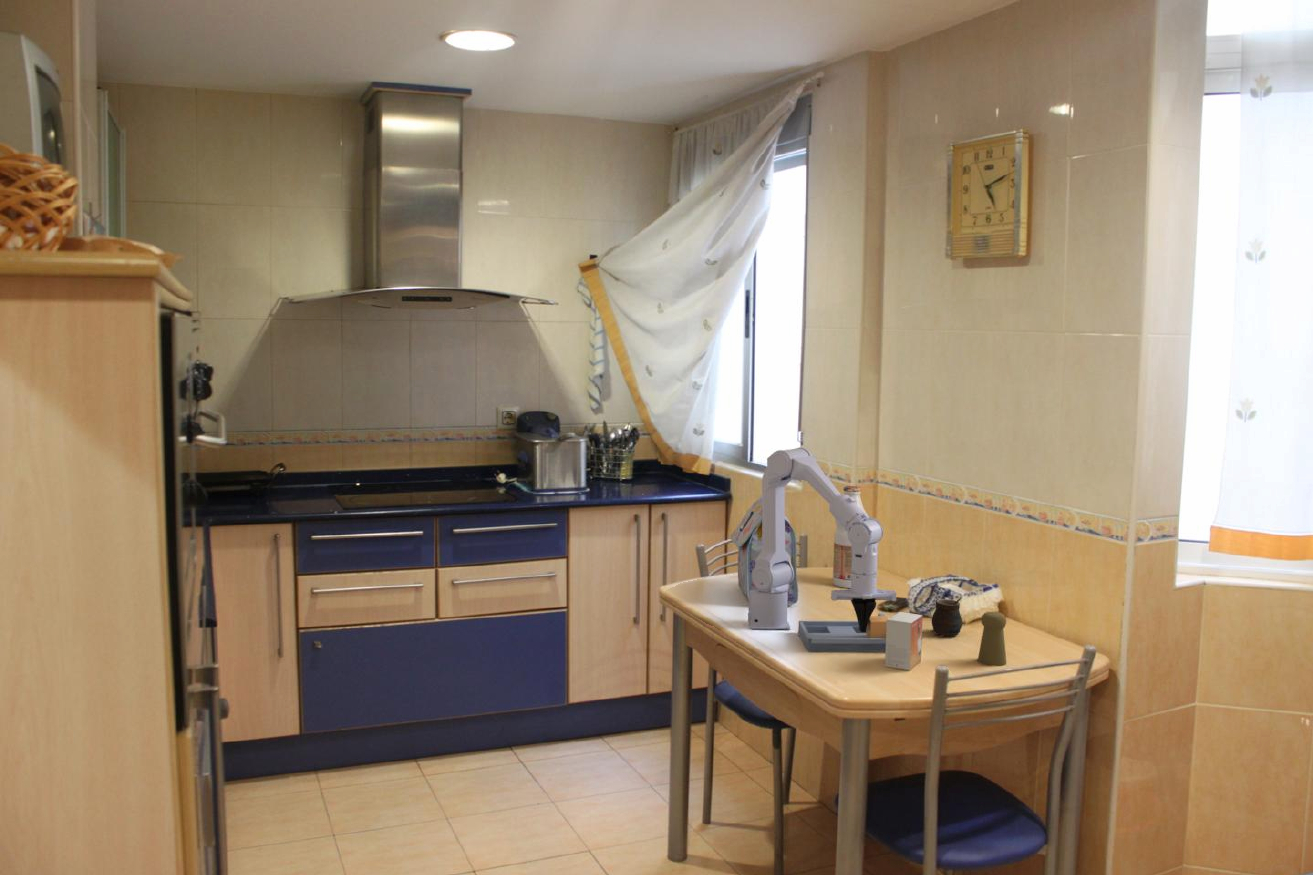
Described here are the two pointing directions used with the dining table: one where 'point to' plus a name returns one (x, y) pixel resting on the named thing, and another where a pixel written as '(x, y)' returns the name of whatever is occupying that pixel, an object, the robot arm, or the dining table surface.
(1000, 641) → the olive green pepper mill
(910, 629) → the small box
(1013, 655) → the dining table surface
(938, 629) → the mate gourd
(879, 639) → the tray
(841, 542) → the fruit juice
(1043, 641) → the dining table surface
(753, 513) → the lunch bag
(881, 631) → the block
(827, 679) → the dining table surface
